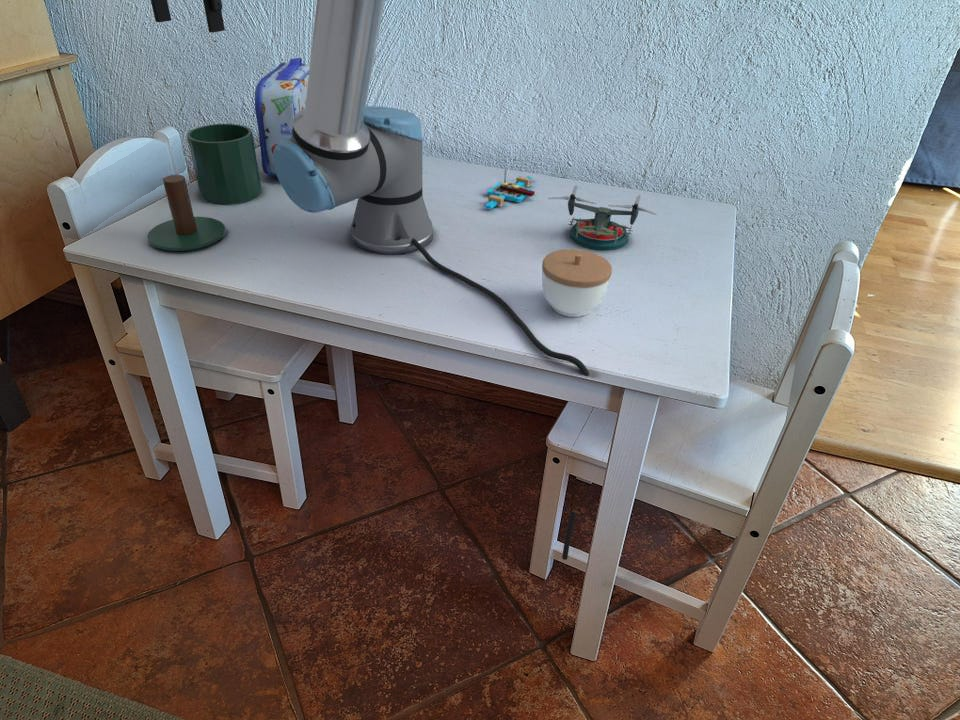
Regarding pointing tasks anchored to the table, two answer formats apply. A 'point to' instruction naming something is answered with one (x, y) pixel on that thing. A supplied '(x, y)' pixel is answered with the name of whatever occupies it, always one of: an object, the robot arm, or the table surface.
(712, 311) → the table surface
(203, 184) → the canister
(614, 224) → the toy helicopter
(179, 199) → the canister lid
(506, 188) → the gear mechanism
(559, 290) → the trinket box
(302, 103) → the lunch box
